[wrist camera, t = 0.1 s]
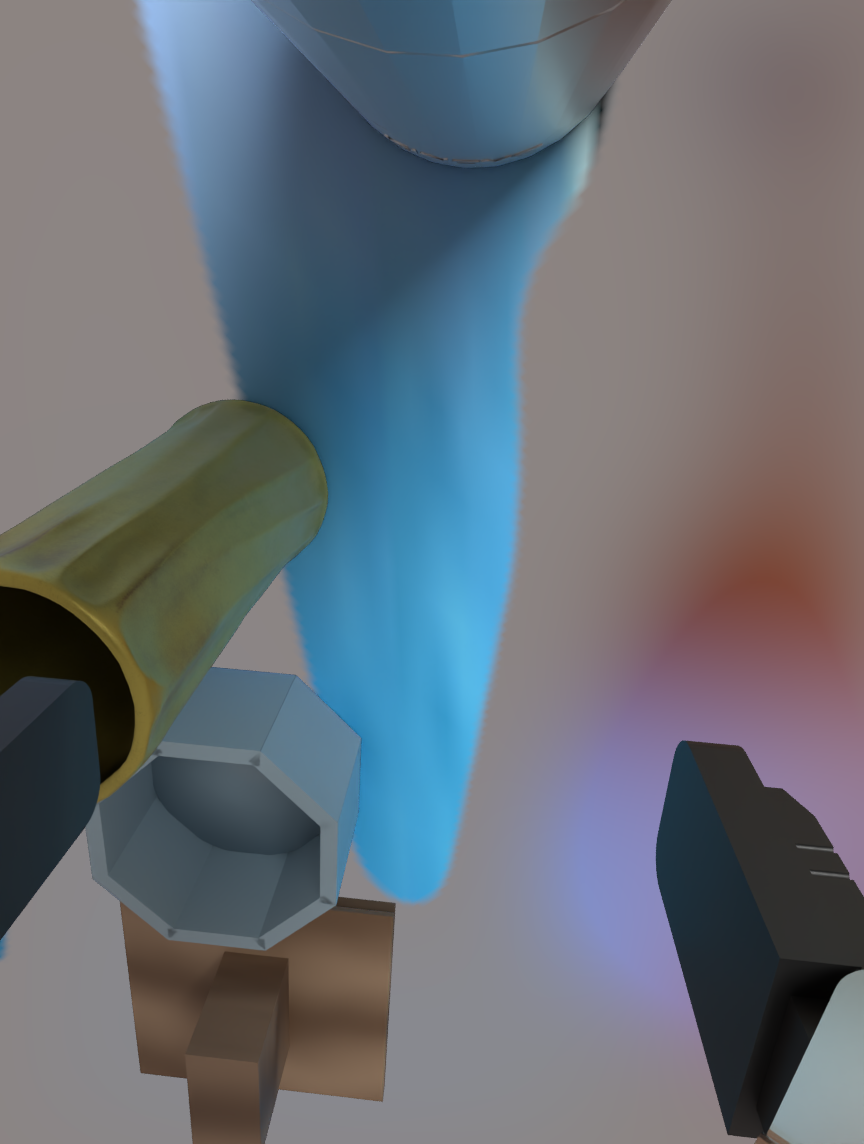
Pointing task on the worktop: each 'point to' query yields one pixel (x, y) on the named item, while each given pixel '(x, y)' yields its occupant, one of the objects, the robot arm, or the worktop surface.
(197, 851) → the bowl
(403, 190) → the worktop surface
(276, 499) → the vase
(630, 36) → the robot arm
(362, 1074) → the lid
